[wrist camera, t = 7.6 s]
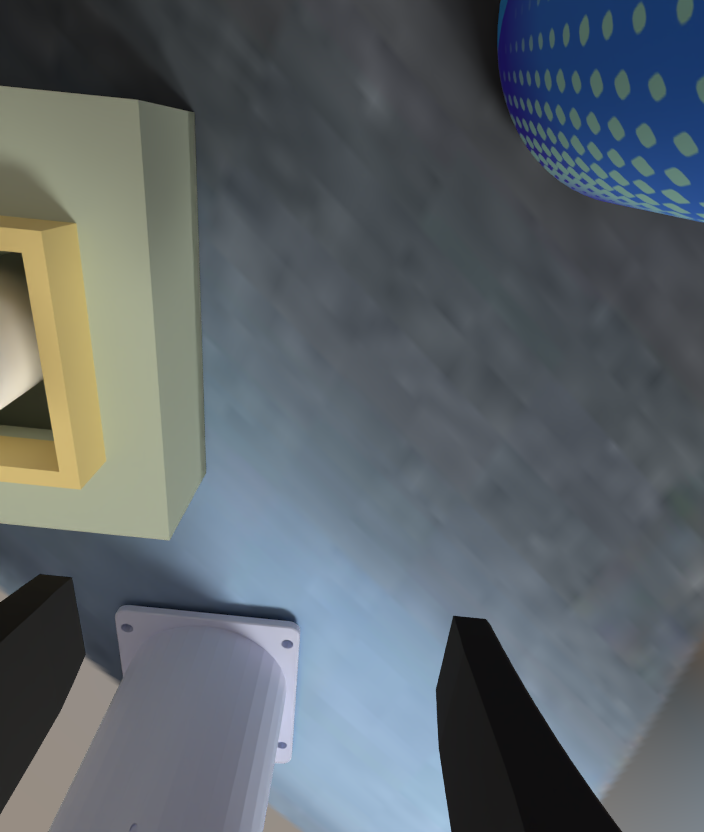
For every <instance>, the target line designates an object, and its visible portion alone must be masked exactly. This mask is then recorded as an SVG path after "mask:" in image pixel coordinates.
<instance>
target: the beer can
mask: <svg viewBox="0 0 704 832" xmlns="http://www.w3.org/2000/svg"><path fill="white" fill-rule="evenodd" d="M497 50H498V65H499V72H500V79H501V85H502V89H503V93H504V97H505V101H506V104H507V107H508V110H509V113H510V116H511V119H512V121H513V123H514V125H515V127H516V129H517V131H518V133H519V135H520V137H521V138H522V140H523V142H524V143H525V145H526V147H527V148H528V149H529V151H530V152H531V153H532V155H533V156H534V157H535V158H536V160H537V161H538V162H539V163H540V164H541V165H542V166H543V167H544V168H545V169H546V170H547V171H548V172H549V173H550V174H551V175H553V176H554V177H555V178H556V179H558V180H559V181H560V182H562V183H563V184H565V185H566V186H568V187H570V188H571V189H573V190H575V191H577V192H579V193H581V194H583V195H586V196H588V197H591V198H594V199H597V200H600V201H605V202H609V203H613V204H618V205H623V206H628V207H632V208H637V209H642V210H647V211H651V212H656V213H661V214H666V215H671V216H675V217H680V218H685V219H690V220H694V221H699V222H704V0H501V2H500V9H499V19H498V38H497Z"/></svg>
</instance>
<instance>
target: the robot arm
mask: <svg viewBox="0 0 704 832" xmlns="http://www.w3.org/2000/svg"><path fill="white" fill-rule="evenodd" d="M115 622H116V629H117V637H118V644H119V651H120V658H121V665H122V673H123V679H122V681H121V683H120V685H119V687H118V689H117V691H116V694H115V695H114V697H113V699H112V702H111V703H110V705H109V708H108V710H107V712H106V714H105V716H104V718H103V720H102V722H101V724H100V726H99V728H98V730H97V732H96V734H95V736H94V738H93V740H92V742H91V745H90V747H89V749H88V751H87V753H86V755H85V757H84V759H83V761H82V763H81V765H80V767H79V769H78V771H77V773H76V776H75V777H74V780H73V782H72V784H71V786H70V788H69V790H68V792H67V794H66V796H65V798H64V800H63V802H62V804H61V806H60V808H59V811H58V812H57V814H56V817H55V818H54V821H53V823H52V825H51V827H50V829H49V831H48V832H263V828H264V822H265V816H266V810H267V805H268V799H269V793H270V787H271V781H272V775H273V769H274V763H287V762H289V761H290V760H291V756H292V746H293V731H294V716H295V701H296V687H297V672H298V657H299V643H300V627H299V626H298V625H297V624H296V623H294V622H291V621H282V620H272V619H262V618H253V617H243V616H233V615H223V614H213V613H203V612H193V611H183V610H173V609H163V608H153V607H143V606H133V605H123V606H121V607H120V608H119V609H118V611H117V612H116V614H115ZM128 624H129V625H128ZM286 640H290V641H286ZM85 655H86V654H85V648H84V642H83V637H82V631H81V625H80V620H79V614H78V609H77V603H76V597H75V592H74V586H73V581H72V577H63V576H53V575H43V574H39V575H38V576H37V577H35V578H34V579H32V580H31V581H29V582H28V583H26V584H25V585H24V586H22V587H21V588H19V589H18V590H17V591H15V592H14V593H12V594H11V595H10V596H8V597H7V598H5V599H4V600H3V601H1V602H0V814H1V812H2V810H3V809H4V807H5V805H6V804H7V802H8V800H9V798H10V797H11V795H12V793H13V792H14V790H15V788H16V787H17V785H18V783H19V781H20V780H21V778H22V776H23V774H24V773H25V771H26V769H27V768H28V766H29V764H30V763H31V761H32V759H33V758H34V756H35V754H36V752H37V751H38V749H39V747H40V746H41V744H42V742H43V740H44V739H45V737H46V735H47V733H48V732H49V730H50V728H51V727H52V725H53V723H54V721H55V719H56V718H57V716H58V714H59V713H60V711H61V709H62V707H63V704H64V702H65V700H66V698H67V696H68V694H69V691H70V689H71V687H72V685H73V683H74V680H75V678H76V676H77V673H78V671H79V669H80V666H81V664H82V662H83V659H84V657H85ZM436 701H437V724H438V741H439V752H440V759H441V766H442V773H443V779H444V786H445V793H446V799H447V806H448V812H449V819H450V826H451V832H622V831H621V830H620V828H619V827H618V826H617V824H616V823H615V822H614V820H613V819H612V818H611V816H610V815H609V814H608V812H607V811H606V809H605V808H604V807H603V805H602V804H601V802H600V801H599V800H598V798H597V797H596V796H595V794H594V793H593V791H592V790H591V788H590V787H589V786H588V784H587V783H586V781H585V780H584V778H583V777H582V775H581V774H580V773H579V771H578V770H577V768H576V767H575V765H574V764H573V762H572V761H571V759H570V758H569V756H568V755H567V753H566V752H565V750H564V749H563V747H562V746H561V744H560V743H559V741H558V740H557V738H556V737H555V735H554V733H553V732H552V730H551V729H550V727H549V725H548V724H547V722H546V721H545V719H544V718H543V716H542V714H541V713H540V711H539V710H538V708H537V706H536V705H535V703H534V701H533V700H532V698H531V696H530V695H529V693H528V691H527V690H526V688H525V686H524V685H523V683H522V681H521V679H520V678H519V676H518V674H517V673H516V671H515V669H514V667H513V666H512V664H511V662H510V660H509V658H508V657H507V655H506V653H505V651H504V649H503V648H502V646H501V644H500V642H499V640H498V638H497V636H496V635H495V633H494V631H493V629H492V627H491V625H490V624H489V622H488V621H487V620H486V619H480V618H470V617H460V616H453V620H452V624H451V628H450V632H449V636H448V641H447V645H446V649H445V653H444V658H443V662H442V666H441V670H440V675H439V679H438V683H437V687H436Z"/></svg>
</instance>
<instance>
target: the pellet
mask: <svg viewBox="0 0 704 832" xmlns="http://www.w3.org/2000/svg"><path fill="white" fill-rule="evenodd" d="M42 380H44V379H43V373H42V367H41V362H40V356H39V350H38V344H37V338H36V332H35V327H34V321H33V315H32V309H31V303H30V298H29V292H28V286H27V280H26V274H25V268H24V263H23V257H22V253H18V252H11V253H7V254H4V255H0V410H1V409H2V408H4V407H5V406H6V405H8V404H9V403H11V402H12V401H14V400H15V399H17V398H18V397H19V396H21V395H22V394H24V393H25V392H27V391H28V390H29V389H31V388H32V387H34V386H35V385H37V384H38V383H39V382H41V381H42Z"/></svg>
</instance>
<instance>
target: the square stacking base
mask: <svg viewBox="0 0 704 832" xmlns="http://www.w3.org/2000/svg"><path fill="white" fill-rule="evenodd" d="M11 252H18V253H22V257H23V263H24V268H25V274H26V280H27V286H28V292H29V298H30V303H31V309H32V315H33V321H34V327H35V332H36V338H37V344H38V350H39V356H40V362H41V367H42V373H43V379H44V380H42V381H41V382H39V383H38V384H37V385H35V386H34V387H32V388H31V389H29V390H28V391H27V392H25V393H24V394H22V395H21V396H19V397H18V398H17V399H15V400H14V401H12V402H11V403H9V404H8V405H6V406H5V407H4V408H2V409H1V410H0V523H2V524H12V525H22V526H32V527H42V528H52V529H62V530H72V531H82V532H91V533H101V534H111V535H121V536H131V537H141V538H151V539H161V540H170V539H171V537H172V535H173V533H174V531H175V529H176V528H177V526H178V524H179V522H180V520H181V518H182V516H183V515H184V513H185V511H186V509H187V507H188V505H189V503H190V502H191V500H192V498H193V496H194V494H195V492H196V490H197V489H198V487H199V485H200V483H201V481H202V479H203V478H204V476H205V474H206V455H205V424H204V393H203V362H202V330H201V299H200V268H199V237H198V206H197V175H196V144H195V113H194V112H189V111H185V110H181V109H176V108H172V107H167V106H163V105H159V104H154V103H150V102H145V101H141V100H135V99H125V98H115V97H105V96H95V95H85V94H75V93H66V92H56V91H46V90H36V89H26V88H16V87H7V86H0V255H4V254H7V253H11Z"/></svg>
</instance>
